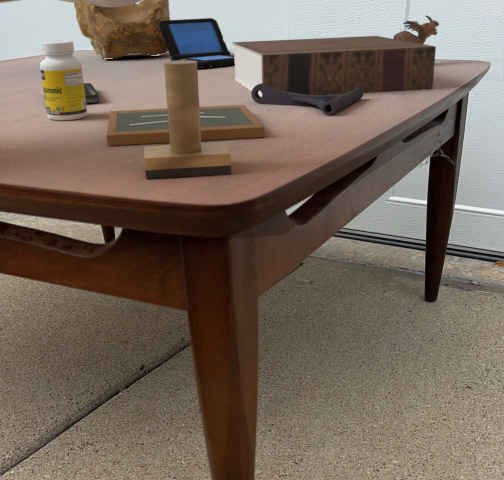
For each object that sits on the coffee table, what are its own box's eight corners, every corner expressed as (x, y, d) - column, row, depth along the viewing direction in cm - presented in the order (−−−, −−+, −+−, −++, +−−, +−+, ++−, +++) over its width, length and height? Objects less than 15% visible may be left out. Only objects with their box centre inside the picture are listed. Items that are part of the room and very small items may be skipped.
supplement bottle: (39, 118, 94) (28, 42, 90) (73, 112, 98) (63, 39, 94) (61, 122, 91) (51, 44, 87) (95, 116, 95) (86, 40, 91)
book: (432, 89, 111) (435, 46, 108) (264, 99, 106) (263, 54, 103) (374, 72, 133) (376, 35, 130) (232, 79, 127) (231, 42, 125)
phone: (90, 82, 117) (99, 94, 104) (91, 89, 118) (100, 102, 105) (42, 85, 115) (45, 98, 102) (43, 92, 116) (46, 105, 103)
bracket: (271, 95, 109) (271, 76, 107) (363, 99, 103) (364, 79, 102) (232, 111, 97) (231, 90, 96) (333, 116, 91) (334, 95, 90)
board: (107, 146, 77) (106, 134, 77) (111, 120, 92) (110, 110, 91) (264, 137, 80) (264, 126, 79) (244, 113, 94) (244, 103, 94)
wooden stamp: (146, 179, 64) (136, 67, 60) (145, 166, 69) (135, 61, 64) (231, 174, 65) (227, 63, 61) (224, 161, 70) (220, 57, 65)
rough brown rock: (67, 66, 160) (58, -4, 153) (83, 52, 174) (76, -12, 167) (166, 67, 160) (163, -3, 152) (175, 54, 174) (172, -11, 167)
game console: (195, 70, 141) (192, 22, 137) (159, 65, 150) (156, 20, 147) (254, 63, 150) (253, 18, 146) (216, 59, 159) (214, 17, 156)
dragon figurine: (411, 61, 146) (414, 14, 142) (435, 63, 143) (440, 15, 139) (374, 68, 137) (377, 18, 134) (399, 70, 134) (403, 18, 130)
